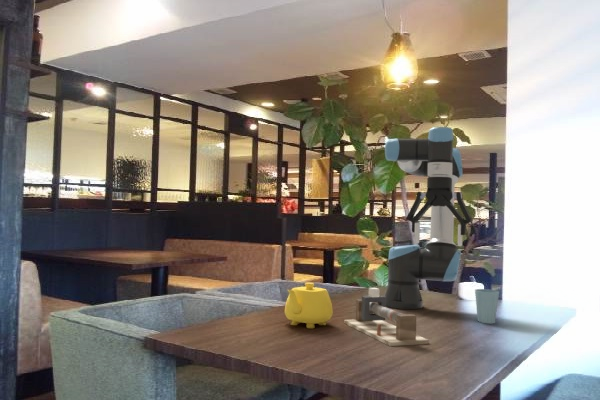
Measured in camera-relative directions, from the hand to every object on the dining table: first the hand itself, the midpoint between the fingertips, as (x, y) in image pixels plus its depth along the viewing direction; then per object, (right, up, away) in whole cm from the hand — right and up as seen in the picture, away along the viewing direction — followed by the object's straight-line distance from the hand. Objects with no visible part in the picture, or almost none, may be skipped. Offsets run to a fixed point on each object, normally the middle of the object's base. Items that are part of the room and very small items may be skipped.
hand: (437, 244), depth 164 cm
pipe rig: (-19, -25, -10) cm, 33 cm away
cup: (+19, -27, +11) cm, 35 cm away
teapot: (-41, -25, -3) cm, 48 cm away
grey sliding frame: (-21, -23, -4) cm, 31 cm away
